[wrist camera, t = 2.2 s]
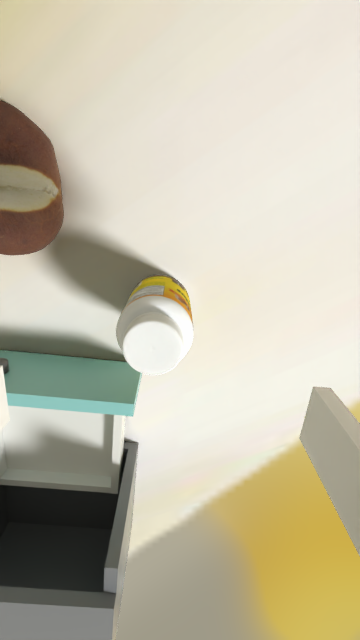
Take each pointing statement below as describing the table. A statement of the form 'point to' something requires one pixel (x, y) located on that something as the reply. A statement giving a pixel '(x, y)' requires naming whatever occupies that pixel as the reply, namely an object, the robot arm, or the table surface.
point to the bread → (27, 185)
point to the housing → (64, 559)
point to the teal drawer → (65, 421)
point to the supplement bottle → (156, 325)
